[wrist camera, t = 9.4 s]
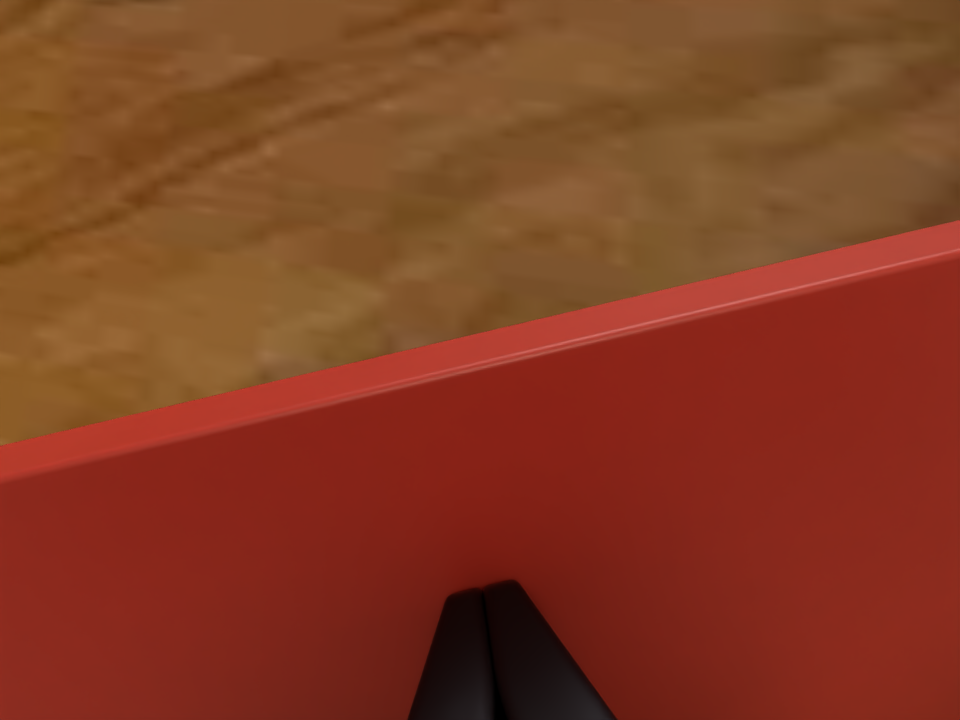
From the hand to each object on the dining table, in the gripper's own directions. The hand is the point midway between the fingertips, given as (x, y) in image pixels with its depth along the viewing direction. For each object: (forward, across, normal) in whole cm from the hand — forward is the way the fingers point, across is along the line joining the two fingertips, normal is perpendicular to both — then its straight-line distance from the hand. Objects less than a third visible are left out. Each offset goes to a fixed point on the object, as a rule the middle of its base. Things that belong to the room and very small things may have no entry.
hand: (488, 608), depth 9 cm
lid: (+1, 0, +2) cm, 2 cm away
